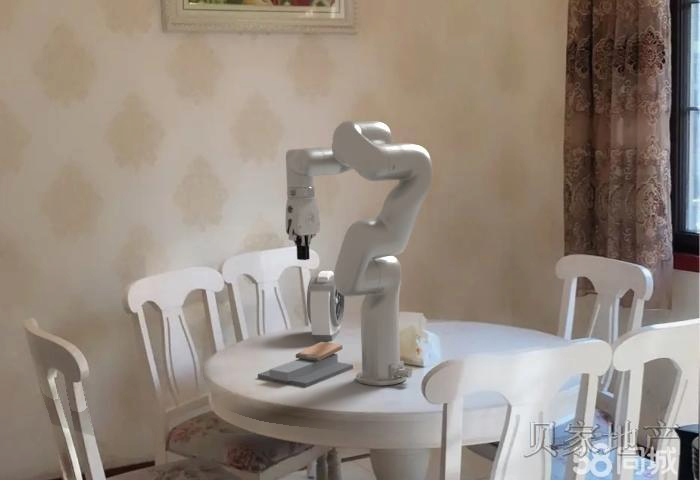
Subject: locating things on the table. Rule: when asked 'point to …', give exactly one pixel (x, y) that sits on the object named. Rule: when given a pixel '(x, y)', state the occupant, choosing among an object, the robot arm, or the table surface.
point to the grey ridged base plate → (306, 371)
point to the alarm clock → (324, 306)
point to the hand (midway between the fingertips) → (303, 259)
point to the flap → (319, 351)
